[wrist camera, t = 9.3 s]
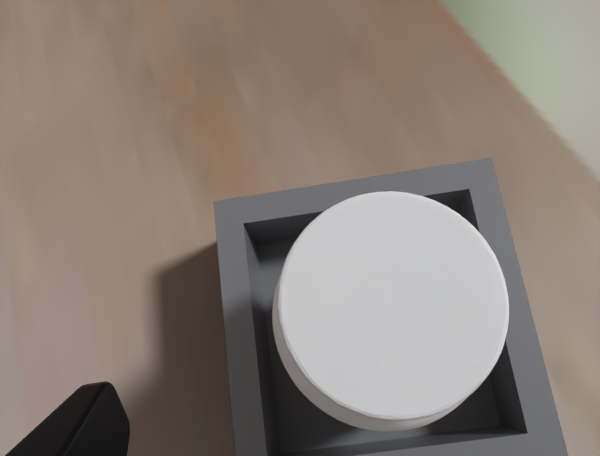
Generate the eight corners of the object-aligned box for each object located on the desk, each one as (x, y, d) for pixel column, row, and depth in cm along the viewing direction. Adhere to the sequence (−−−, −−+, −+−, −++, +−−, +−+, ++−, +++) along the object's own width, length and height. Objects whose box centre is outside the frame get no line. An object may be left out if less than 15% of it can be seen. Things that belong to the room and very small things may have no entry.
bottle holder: (527, 448, 19) (570, 464, 15) (261, 481, 20) (239, 505, 16) (467, 196, 22) (491, 158, 18) (236, 231, 23) (213, 201, 19)
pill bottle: (266, 339, 20) (191, 306, 11) (361, 232, 21) (370, 114, 12) (381, 447, 19) (412, 519, 9) (478, 328, 20) (597, 282, 10)
